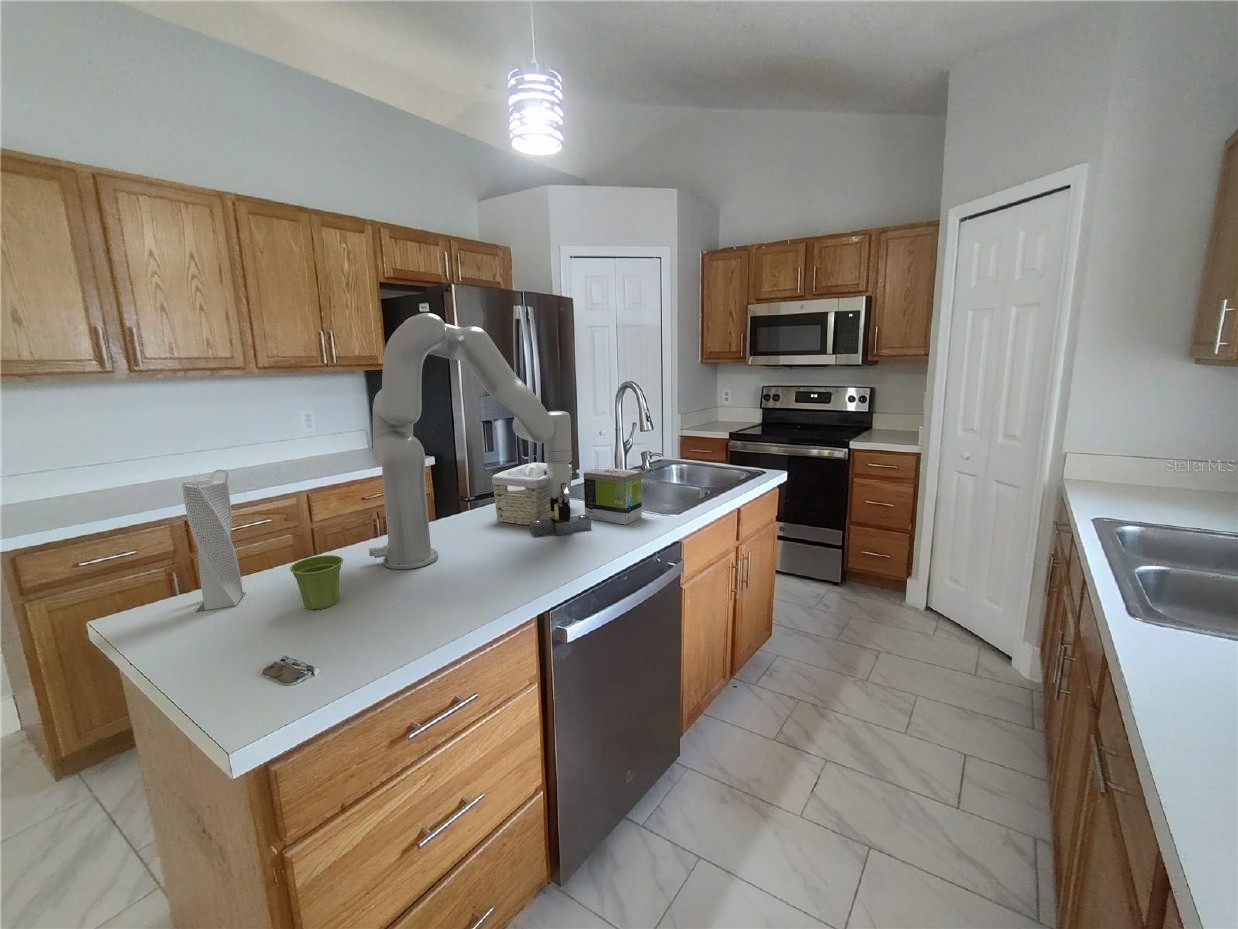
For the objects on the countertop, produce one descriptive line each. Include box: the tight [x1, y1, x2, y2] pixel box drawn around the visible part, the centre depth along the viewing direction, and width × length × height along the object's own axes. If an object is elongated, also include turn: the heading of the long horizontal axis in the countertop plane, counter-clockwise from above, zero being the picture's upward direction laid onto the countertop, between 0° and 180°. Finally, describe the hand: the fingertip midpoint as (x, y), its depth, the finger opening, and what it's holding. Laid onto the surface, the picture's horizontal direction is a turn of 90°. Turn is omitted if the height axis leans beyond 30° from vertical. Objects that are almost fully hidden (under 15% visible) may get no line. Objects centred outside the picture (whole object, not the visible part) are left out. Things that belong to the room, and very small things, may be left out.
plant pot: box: [289, 554, 344, 611], centre depth 112 cm, size 9×9×9 cm
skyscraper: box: [181, 469, 246, 613], centre depth 111 cm, size 8×8×28 cm
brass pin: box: [554, 502, 566, 523], centre depth 156 cm, size 3×3×8 cm
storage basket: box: [491, 461, 573, 526], centre depth 172 cm, size 24×16×15 cm
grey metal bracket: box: [529, 514, 592, 537], centre depth 157 cm, size 17×9×4 cm, turn 110°
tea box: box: [583, 466, 643, 525], centre depth 167 cm, size 15×10×15 cm, turn 58°
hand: (560, 515), depth 156 cm, fingers open, 9 cm apart
